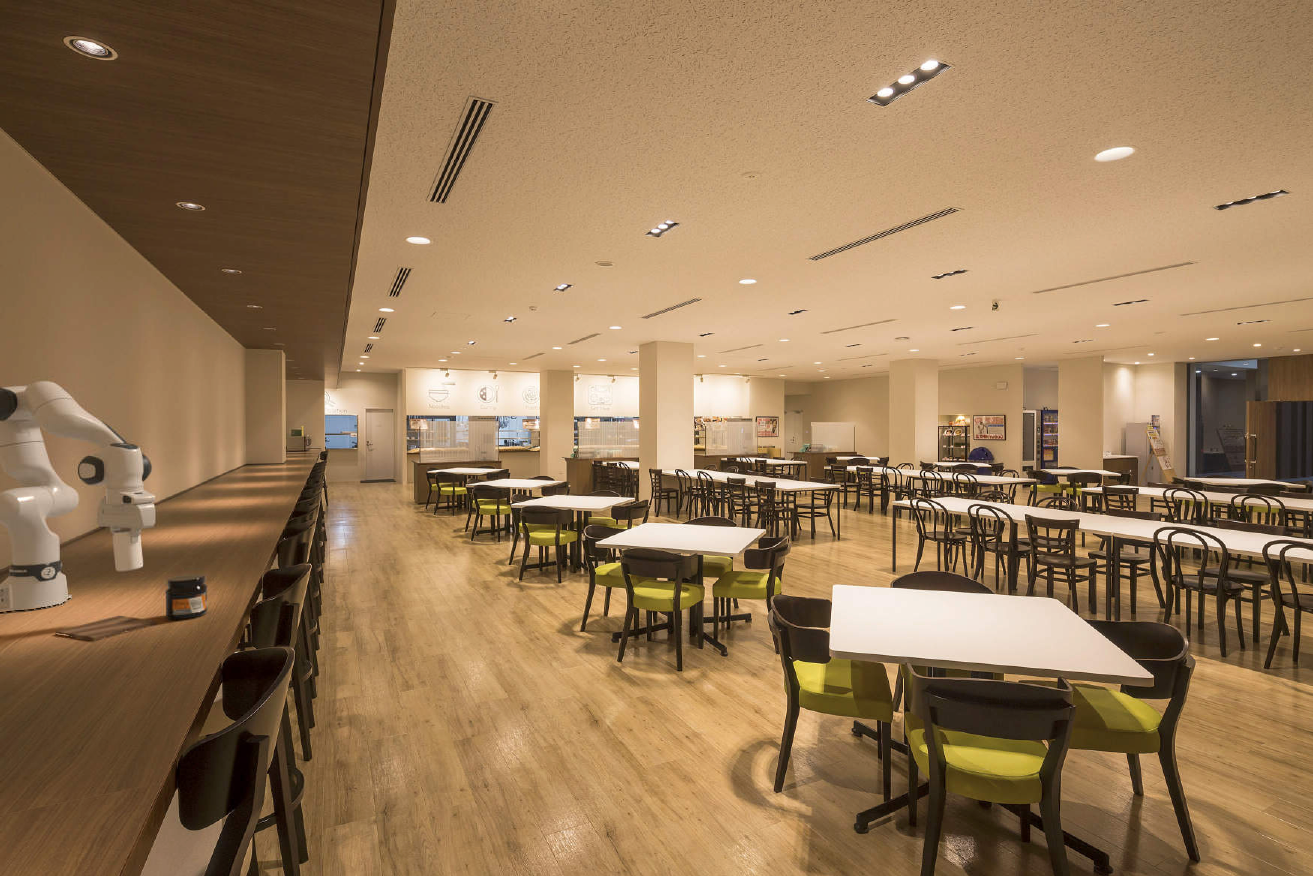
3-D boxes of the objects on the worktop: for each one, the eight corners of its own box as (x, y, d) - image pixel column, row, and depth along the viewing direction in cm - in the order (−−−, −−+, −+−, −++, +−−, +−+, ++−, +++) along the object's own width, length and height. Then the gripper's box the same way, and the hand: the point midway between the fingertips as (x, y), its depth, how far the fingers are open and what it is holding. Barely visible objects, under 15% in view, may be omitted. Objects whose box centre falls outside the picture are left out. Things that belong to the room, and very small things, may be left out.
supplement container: (202, 619, 195) (201, 579, 195) (160, 622, 191) (159, 582, 191) (211, 609, 205) (211, 572, 204) (172, 613, 201) (171, 575, 200)
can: (148, 566, 197) (145, 527, 196) (129, 572, 190) (125, 532, 189) (130, 566, 198) (126, 528, 197) (110, 572, 191) (106, 532, 190)
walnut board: (55, 634, 179) (55, 631, 179) (119, 618, 194) (119, 615, 194) (93, 641, 174) (93, 637, 174) (156, 624, 189) (156, 620, 189)
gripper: (89, 496, 193) (90, 542, 194) (137, 498, 187) (138, 545, 187) (113, 494, 199) (113, 538, 200) (159, 496, 193) (160, 541, 193)
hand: (125, 542), depth 193 cm, fingers closed on can, 5 cm apart
